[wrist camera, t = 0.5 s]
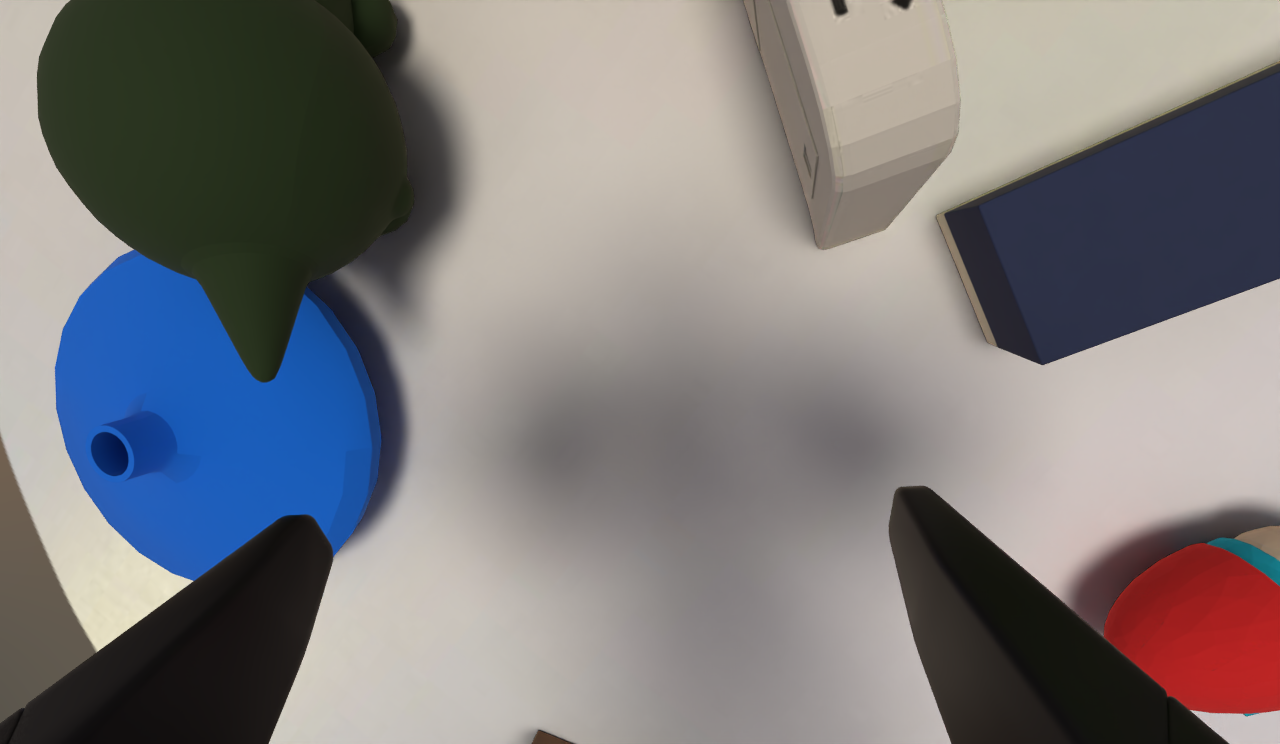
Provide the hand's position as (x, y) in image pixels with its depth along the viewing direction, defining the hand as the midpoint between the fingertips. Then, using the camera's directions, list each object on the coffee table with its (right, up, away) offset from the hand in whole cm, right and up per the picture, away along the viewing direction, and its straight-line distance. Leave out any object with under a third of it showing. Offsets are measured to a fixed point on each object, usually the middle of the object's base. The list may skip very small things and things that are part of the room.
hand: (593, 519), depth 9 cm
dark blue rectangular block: (+17, +8, +11) cm, 22 cm away
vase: (-17, +1, +20) cm, 26 cm away
